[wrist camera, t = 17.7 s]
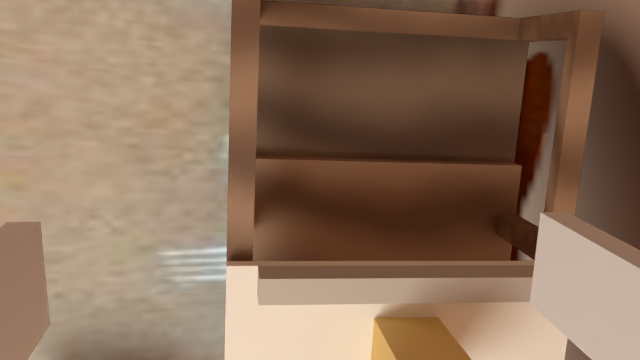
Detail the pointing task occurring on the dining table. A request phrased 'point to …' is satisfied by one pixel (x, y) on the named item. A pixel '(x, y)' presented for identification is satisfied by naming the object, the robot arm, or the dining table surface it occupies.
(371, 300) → the lid
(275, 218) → the wooden organizer rack
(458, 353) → the block
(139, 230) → the dining table surface
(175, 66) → the dining table surface
